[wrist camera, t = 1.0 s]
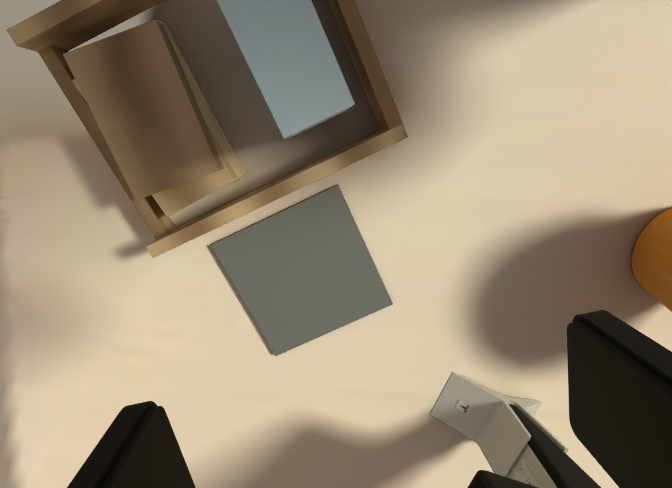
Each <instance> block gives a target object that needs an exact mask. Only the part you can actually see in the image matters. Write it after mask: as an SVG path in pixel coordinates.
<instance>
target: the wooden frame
mask: <svg viewBox="0 0 672 488" xmlns="http://www.w3.org/2000/svg"><path fill="white" fill-rule="evenodd" d="M162 1H164V0H61V1H59V2H58V3H56V4H54V5H52V6H50V7H48V8H47V9H45V10H43V11H41V12H39V13H37V14H35V15H34V16H32V17H30V18H28V19H26V20H24V21H22V22H20V23H18V24H17V25H15V26H13V27H11V28H9V29H7V31H8V33H9V34H10V36H11V38H12V39H13V40H14V42H15V44H16V45H17V46H19V47H23V48H26V49H30V50H33V51H37V52H38V53H39V54H40V56H41V58H42V59H43V61H44V62H45V64H46V65H47V67H48V69H49V70H50V72H51V73H52V75H53V77H54V78H55V80H56V81H57V83H58V84H59V86H60V88H61V89H62V91H63V93H64V94H65V96H66V97H67V99H68V100H69V102H70V104H71V105H72V107H73V108H74V110H75V111H76V113H77V115H78V116H79V118H80V119H81V121H82V123H83V124H84V126H85V127H86V129H87V131H88V132H89V134H90V135H91V137H92V139H93V140H94V142H95V143H96V145H97V147H98V148H99V150H100V151H101V153H102V154H103V156H104V158H105V159H106V161H107V162H108V164H109V166H110V167H111V169H112V170H113V172H114V174H115V175H116V177H117V178H118V180H119V181H120V183H121V185H122V186H123V188H124V189H125V191H126V193H127V194H128V196H129V197H130V199H131V201H132V202H133V204H134V205H135V207H136V209H137V210H138V212H139V213H140V215H141V216H142V218H143V220H144V221H145V223H146V224H147V226H148V228H149V229H150V231H151V232H152V234H153V236H154V237H155V239H156V240H155V241H153V242H152V243H150V244H149V245H148V246H146V248H147V250H148V251H149V253H150V254H151V256H152V257H153V258H154V257H157V256H159V255H161V254H163V253H165V252H167V251H169V250H171V249H173V248H175V247H178V246H180V245H182V244H184V243H186V242H188V241H190V240H192V239H194V238H197V237H199V236H201V235H203V234H205V233H207V232H209V231H211V230H213V229H215V228H218V227H220V226H222V225H224V224H226V223H228V222H230V221H232V220H234V219H237V218H239V217H241V216H243V215H245V214H247V213H249V212H251V211H253V210H255V209H258V208H260V207H262V206H264V205H266V204H268V203H270V202H272V201H274V200H277V199H279V198H281V197H283V196H285V195H287V194H289V193H291V192H293V191H296V190H298V189H300V188H302V187H304V186H306V185H308V184H310V183H312V182H314V181H317V180H319V179H321V178H323V177H325V176H327V175H329V174H331V173H333V172H336V171H338V170H340V169H342V168H344V167H346V166H348V165H350V164H352V163H354V162H357V161H359V160H361V159H363V158H365V157H367V156H369V155H371V154H373V153H376V152H378V151H380V150H382V149H384V148H386V147H388V146H390V145H392V144H394V143H397V142H399V141H401V140H403V139H405V138H407V137H408V136H407V134H406V131H405V128H404V126H403V123H402V121H401V118H400V116H399V113H398V111H397V108H396V106H395V103H394V100H393V98H392V95H391V93H390V90H389V88H388V85H387V83H386V80H385V77H384V75H383V72H382V70H381V67H380V65H379V62H378V60H377V57H376V54H375V52H374V49H373V47H372V44H371V42H370V39H369V37H368V34H367V32H366V29H365V26H364V24H363V21H362V19H361V16H360V14H359V11H358V9H357V6H356V3H355V1H354V0H327V1H328V3H329V6H330V8H331V10H332V13H333V15H334V18H335V20H336V23H337V25H338V28H339V30H340V32H341V35H342V37H343V40H344V42H345V45H346V47H347V49H348V52H349V54H350V57H351V59H352V62H353V64H354V67H355V69H356V71H357V74H358V76H359V79H360V81H361V84H362V86H363V88H364V91H365V93H366V96H367V98H368V101H369V103H370V106H371V108H372V110H373V113H374V115H375V118H376V120H377V123H378V125H379V127H380V131H378V132H376V133H374V134H372V135H370V136H368V137H366V138H363V139H361V140H359V141H357V142H355V143H353V144H351V145H349V146H347V147H345V148H343V149H341V150H338V151H336V152H334V153H332V154H330V155H328V156H326V157H324V158H322V159H320V160H318V161H315V162H313V163H311V164H309V165H307V166H305V167H303V168H301V169H299V170H297V171H295V172H292V173H290V174H288V175H286V176H284V177H282V178H280V179H278V180H276V181H274V182H272V183H269V184H267V185H265V186H263V187H261V188H259V189H257V190H255V191H253V192H251V193H249V194H247V195H244V196H242V197H240V198H238V199H236V200H234V201H232V202H230V203H228V204H226V205H224V206H221V207H219V208H217V209H215V210H213V211H211V212H209V213H207V214H205V215H203V216H201V217H198V218H196V219H194V220H192V221H190V222H188V223H186V224H184V225H182V226H180V227H178V228H175V227H174V225H173V223H172V222H171V220H170V218H169V217H167V216H166V215H165V213H164V212H163V210H162V209H161V208H160V206H159V205H158V203H157V202H156V200H155V199H154V198H153V196H152V195H150V196H147V197H144V198H141V199H138V200H135V198H134V196H133V194H132V192H131V190H130V188H129V186H128V184H127V182H126V180H125V178H124V176H123V174H122V172H121V170H120V168H119V166H118V164H117V162H116V160H115V158H114V156H113V154H112V152H111V150H110V148H109V146H108V144H107V142H106V140H105V138H104V136H103V134H102V132H101V130H100V128H99V126H98V124H97V122H96V120H95V118H94V116H93V114H92V112H91V110H90V108H89V106H88V104H87V102H86V101H85V99H84V98H83V96H82V95H81V94H80V92H79V91H78V89H77V88H76V86H75V85H74V84H73V82H72V80H74V79H75V78H74V76H73V74H72V72H71V70H70V68H69V66H68V64H67V62H66V60H65V58H64V56H63V54H65V53H67V52H68V51H69V50H71V49H73V48H75V47H77V46H78V45H80V44H82V43H84V42H86V41H88V40H90V39H92V38H94V37H95V36H97V35H99V34H101V33H103V32H105V31H107V30H109V29H110V28H113V27H114V26H116V25H118V24H120V23H122V22H124V21H126V20H128V19H130V18H132V17H134V16H135V15H137V14H139V13H141V12H143V11H145V10H147V9H149V8H151V7H152V6H154V5H156V4H158V3H160V2H162Z"/></svg>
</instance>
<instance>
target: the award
mask: <svg viewBox="0 0 672 488" xmlns="http://www.w3.org/2000/svg"><path fill="white" fill-rule="evenodd" d="M541 403H542V402H541V401H538V400H530V399H521V398H513V397H508V396H505V395H503V394H500V393H498V392H496V391H494V390H492V389H490V388H488V387H485V386H483V385H481V384H479V383H477V382H475V381H473V380H470V379H468V378H466V377H464V376H462V375H460V374H457V373H454V372H452V374H451V376H450V378H449V380H448V381H447V383H446V385H445V387H444V389H443V391H442V392H441V394H440V396H439V398H438V400H437V402H436V404H435V405H434V407H433V409H432V411H431V413H430V414H431V415H432V416H434V417H435V418H437V419H439V420H440V421H442V422H444V423H445V424H447V425H448V426H450V427H452V428H453V429H455V430H457V431H458V432H460V433H461V434H463V435H465V436H466V437H468V438H470V439H471V440H473V441H475V442H476V443H477V444H478V445H479V447H480V448H481V450H482V452H483V454H484V456H485V457H486V459H487V461H488V463H489V465H490V466H491V468H492V470H493V472H494V473H492V472H489V471H485V470H479V471H478V472H477V473H476V475H475V476H474V478H473V480H472V481H471V483H470V485H469V486H468V488H601V487H600V486H599V485H598V484H597V483H596V482H595V481H594V480H593V479H592V478H591V477H590V476H588V475H587V474H586V473H585V472H584V471H583V470H582V469H581V468H580V467H579V466H578V465H577V464H576V463H575V462H574V461H573V460H572V459H571V458H570V457H569V456H568V455H567V454H566V452H567V451H568V449H567V448H566V447H565V446H564V445H563V444H562V443H561V442H560V441H559V440H558V439H557V438H556V437H555V436H554V435H553V434H551V433H550V432H549V431H548V430H547V429H546V428H545V427H544V426H543V425H542V424H541V423H540V422H539V421H538V420H537V419H536V418H535V417H533V416H534V415H535V413H536V411H537V410H538V408H539V407H540V405H541Z"/></svg>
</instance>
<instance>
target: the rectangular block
mask: <svg viewBox="0 0 672 488" xmlns="http://www.w3.org/2000/svg"><path fill="white" fill-rule="evenodd" d="M217 2H218V4H219V6H220V8H221V10H222V12H223V14H224V16H225V18H226V20H227V23H228V25H229V27H230V29H231V31H232V33H233V35H234V37H235V39H236V41H237V43H238V45H239V47H240V49H241V51H242V53H243V55H244V58H245V60H246V62H247V64H248V66H249V68H250V70H251V72H252V74H253V76H254V78H255V80H256V82H257V84H258V86H259V88H260V90H261V93H262V95H263V97H264V99H265V101H266V103H267V105H268V107H269V109H270V111H271V113H272V115H273V117H274V119H275V121H276V123H277V125H278V128H279V130H280V132H281V134H282V136H283V138H284V139H285V138H290V137H294V136H297V135H299V134H301V133H303V132H305V131H307V130H309V129H311V128H313V127H315V126H317V125H319V124H321V123H323V122H325V121H327V120H329V119H332V118H334V117H336V116H338V115H340V114H341V113H343V112H344V111H346V110H347V109H349V108H350V107H352V106H353V105H355V103H354V101H353V98H352V96H351V93H350V91H349V89H348V86H347V84H346V82H345V79H344V77H343V74H342V72H341V70H340V67H339V65H338V63H337V60H336V58H335V55H334V53H333V51H332V48H331V46H330V44H329V41H328V39H327V36H326V34H325V32H324V29H323V27H322V25H321V22H320V20H319V17H318V15H317V13H316V10H315V8H314V6H313V3H312V1H311V0H217Z"/></svg>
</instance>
